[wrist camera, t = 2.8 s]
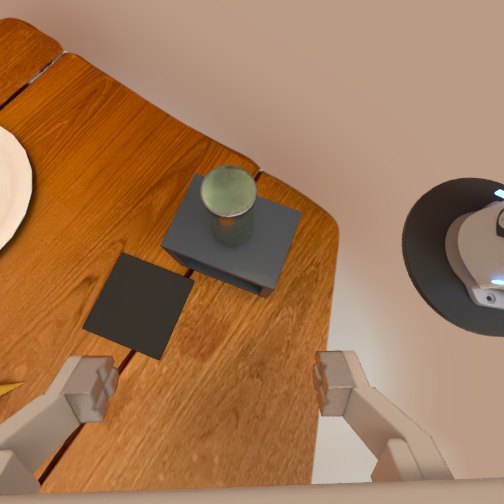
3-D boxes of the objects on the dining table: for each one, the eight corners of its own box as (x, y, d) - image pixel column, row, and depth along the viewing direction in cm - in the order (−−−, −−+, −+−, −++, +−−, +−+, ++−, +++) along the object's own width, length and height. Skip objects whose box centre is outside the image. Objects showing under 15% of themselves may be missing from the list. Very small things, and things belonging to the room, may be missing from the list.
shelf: (288, 238, 45) (302, 212, 34) (266, 298, 43) (274, 289, 32) (206, 208, 46) (195, 173, 35) (180, 264, 43) (160, 245, 33)
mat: (194, 281, 43) (194, 280, 43) (159, 360, 40) (159, 360, 40) (122, 252, 44) (121, 252, 43) (83, 328, 41) (81, 328, 40)
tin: (259, 217, 34) (265, 175, 24) (244, 254, 33) (244, 225, 23) (221, 204, 34) (213, 156, 25) (206, 239, 33) (190, 204, 23)
